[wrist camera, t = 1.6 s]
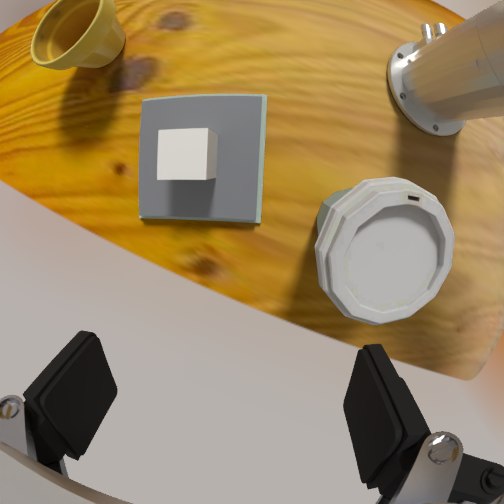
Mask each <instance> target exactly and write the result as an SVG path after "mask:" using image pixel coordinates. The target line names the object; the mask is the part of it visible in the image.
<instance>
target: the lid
mask: <svg viewBox="0 0 504 504" xmlns="http://www.w3.org/2000/svg"><path fill="white" fill-rule="evenodd" d="M261 113H262V96H198V97H181V98H168V99H158V100H149V101H142V112H141V127H140V147H139V216H174V217H202V218H225V219H245V220H256V212H257V193H258V173H259V153H260V133H261Z"/></svg>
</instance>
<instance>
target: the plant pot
mask: <svg viewBox="0 0 504 504" xmlns="http://www.w3.org/2000/svg"><path fill="white" fill-rule="evenodd" d="M124 43H125V32H124V29H123V28H122V26H121V24H120V22H119V20H118V18H117V16H116V7H115V4H114V2H113V0H59V1H57V2H56V3H55V4H54V5H53V6H52V7H51V8H50V9H49V11H48V12H47V13H46V14H45V16H44V17H43V18H42V20H41V21H40V23H39V25H38V27H37V29H36V31H35V33H34V36H33V39H32V43H31V57H32V59H33V61H34V62H35V63H36V64H37V65H40V66H43V67H46V68H50V69H55V70H65V69H69V68H71V67H86V68H100V67H103V66H105V65H107V64H109V63H110V62H112V61H113V60H114V59H115V58H116V57H117V56H118V55H119V53H120V52H121V50H122V48H123V46H124Z"/></svg>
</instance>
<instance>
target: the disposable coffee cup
mask: <svg viewBox="0 0 504 504" xmlns="http://www.w3.org/2000/svg"><path fill="white" fill-rule="evenodd" d="M317 228H318V239H317V242H316V244H315V254H316V262H317V271H318V280H319V286H320V287H321V288H322V289H323V291H324V292H325V293H326V294H327V296H328V297H329V298H330V299H331V300H332V302H333V303H334V304H335V305H336V307H337V308H338V309H339V310H340V312H342V314H343V315H344V316H345V317H348V318H352V319H355V320H358V321H361V322H365V323H368V324H371V325H375V326H376V325H381V324H385V323H389V322H393V321H397V320H401V319H405V318H408V317H410V316H411V315H412V314H414V313H415V312H416V311H418V310H419V309H420V308H422V307H423V306H424V305H425V304H427V303H428V302H429V301H430V300H431V299H433V298H434V297H435V296H436V294H437V292H438V291H439V289H440V287H441V286H442V284H443V282H444V280H445V278H446V276H447V275H448V273H449V271H450V269H451V267H452V259H453V249H454V237H455V234H454V231H453V229H452V226H451V224H450V221H449V219H448V217H447V214H446V212H445V210H444V208H443V205H442V204H440V203H439V201H438V199H437V198H436V196H434V195H433V194H431V193H429V192H428V191H426V190H424V189H423V188H421V187H419V186H417V185H416V184H414V183H412V182H410V181H409V180H407V179H402V178H397V177H386V178H377V179H368V180H363V181H362V182H360V183H359V184H358V185H357V186H355V187H354V188H350V189H346V190H342V191H338V192H335V193H334V194H332V195H331V196H330V197H329V198H327V199H326V200H325V201H324V202H323V203H322V205H321V208H320V210H319V213H318V215H317Z"/></svg>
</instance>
